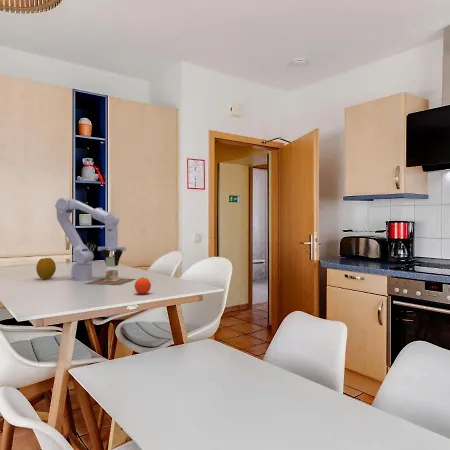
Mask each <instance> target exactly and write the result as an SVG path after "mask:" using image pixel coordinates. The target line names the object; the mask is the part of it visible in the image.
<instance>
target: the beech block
mask: <svg viewBox="0 0 450 450" xmlns="http://www.w3.org/2000/svg"><path fill="white" fill-rule="evenodd" d="M105 278H106V280H117V279H118V278H119V270H116V269H114V270H113V269H111V270H110V269H109V270H106V271H105Z"/></svg>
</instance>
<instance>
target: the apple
mask: <svg viewBox="0 0 450 450" xmlns="http://www.w3.org/2000/svg"><path fill="white" fill-rule="evenodd" d="M56 265H57V264H56V263H55V261H54V260H53V258H51V257H45V258H44V257H43V258H40V259H39V260H38V261H37V263H36V266H35V268H36V270H35V271H36V273H37V276H38V277H39V278H40V280H48V279H51V278H52V277H53V276H54V274H55V273H56V270H57V266H56Z"/></svg>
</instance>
